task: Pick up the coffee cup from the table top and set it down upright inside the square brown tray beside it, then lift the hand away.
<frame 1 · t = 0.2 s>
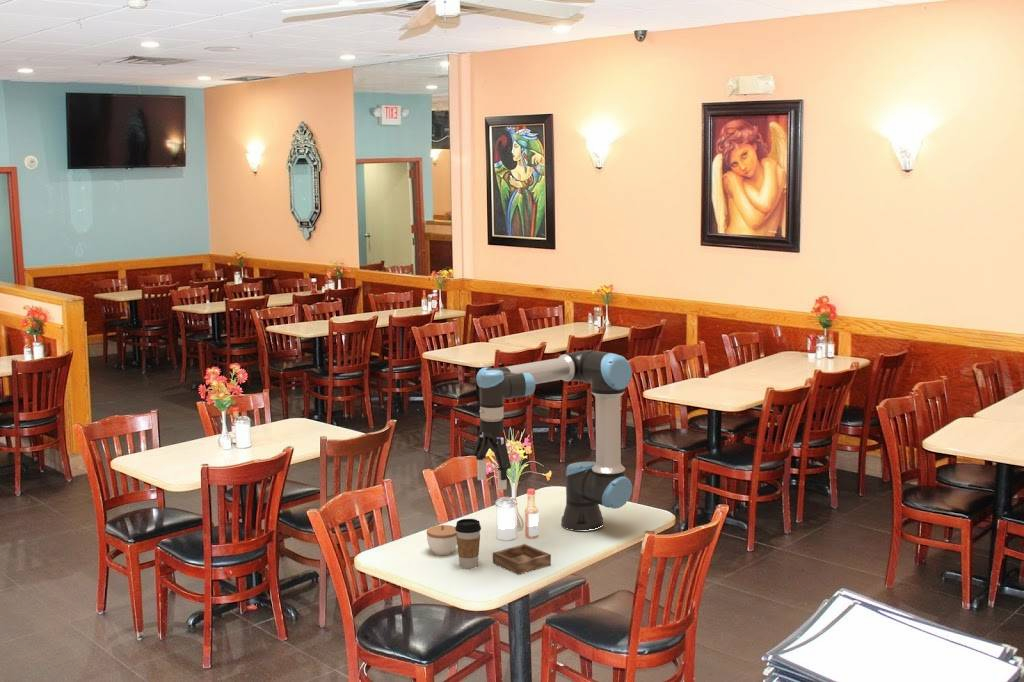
hand: (491, 484, 335), 27 cm above the table, tool pointing down, fingers open, 13 cm apart
coffee cup: (468, 566, 340), on the table
square brown tray: (521, 564, 341), on the table
lidded jar: (443, 552, 353), on the table
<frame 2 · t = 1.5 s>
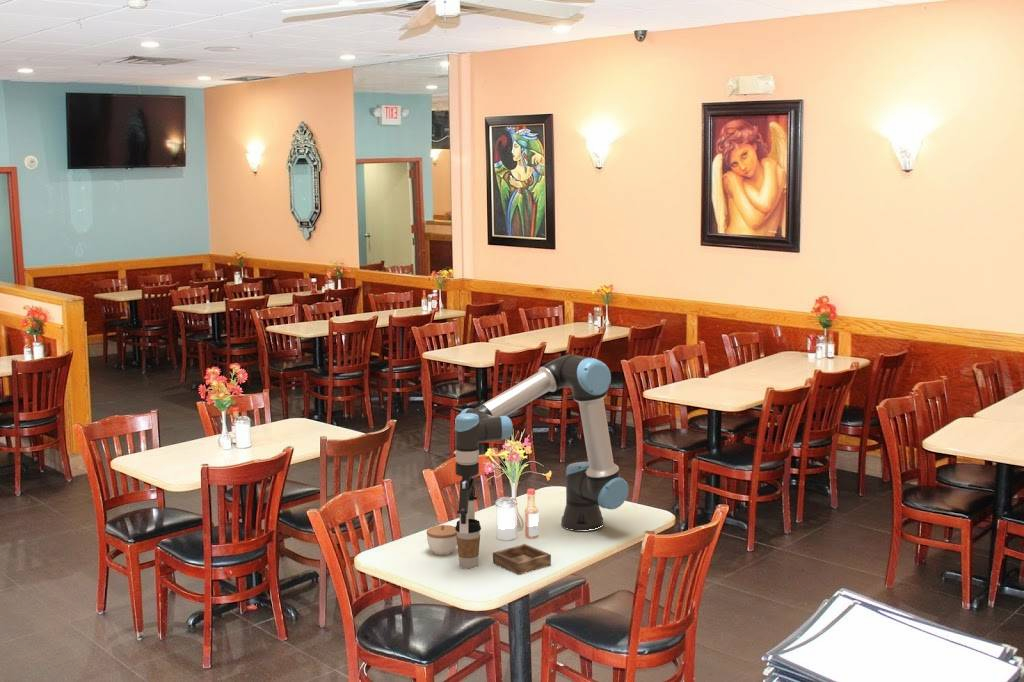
hand: (467, 526, 338), 13 cm above the table, tool pointing down, fingers open, 13 cm apart
nothing on the table moved.
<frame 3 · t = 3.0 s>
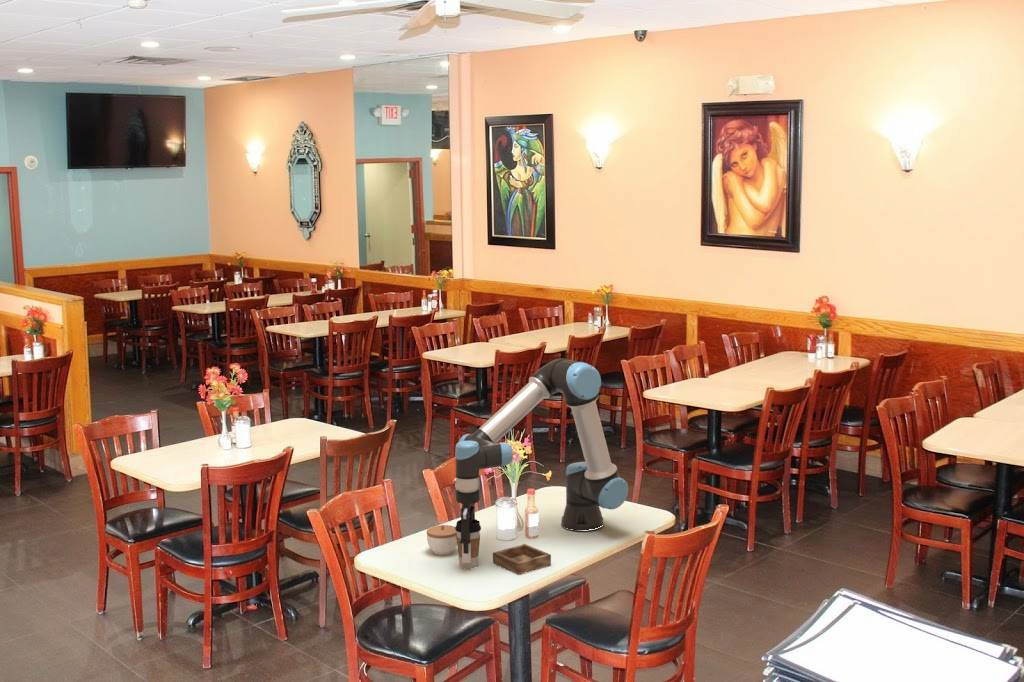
hand: (468, 557, 340), 3 cm above the table, tool pointing down, fingers closed on coffee cup, 8 cm apart
coffee cup: (468, 566, 340), on the table, touching gripper
everything else where it was.
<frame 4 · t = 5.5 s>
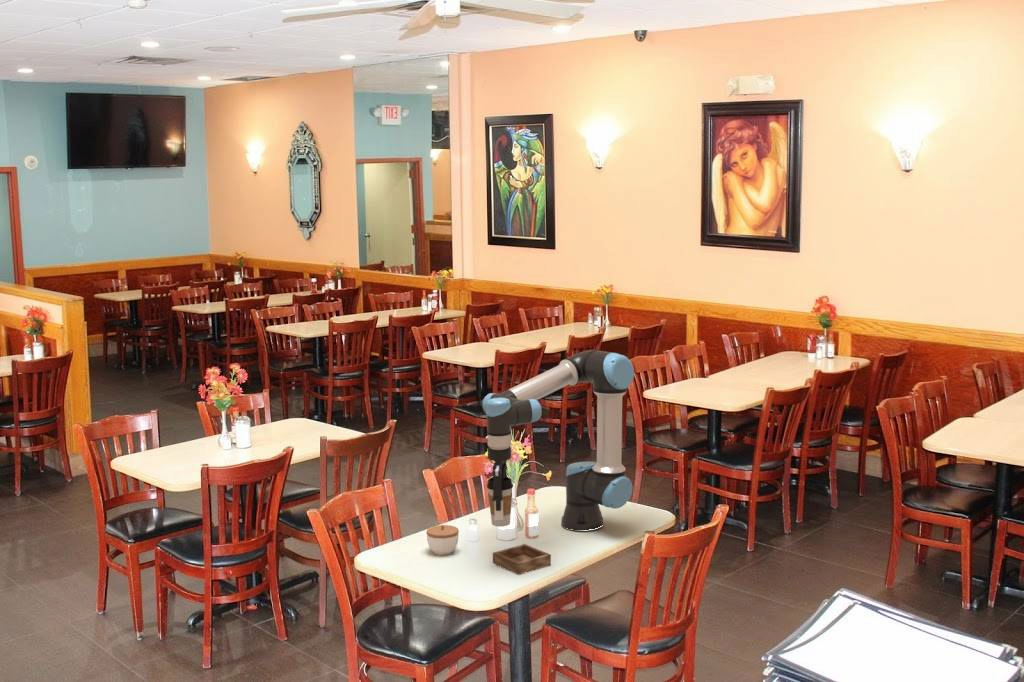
hand: (500, 515, 339), 16 cm above the table, tool pointing down, fingers closed on coffee cup, 8 cm apart
coffee cup: (500, 524, 339), point 14 cm above the table, touching gripper
everything else where it was.
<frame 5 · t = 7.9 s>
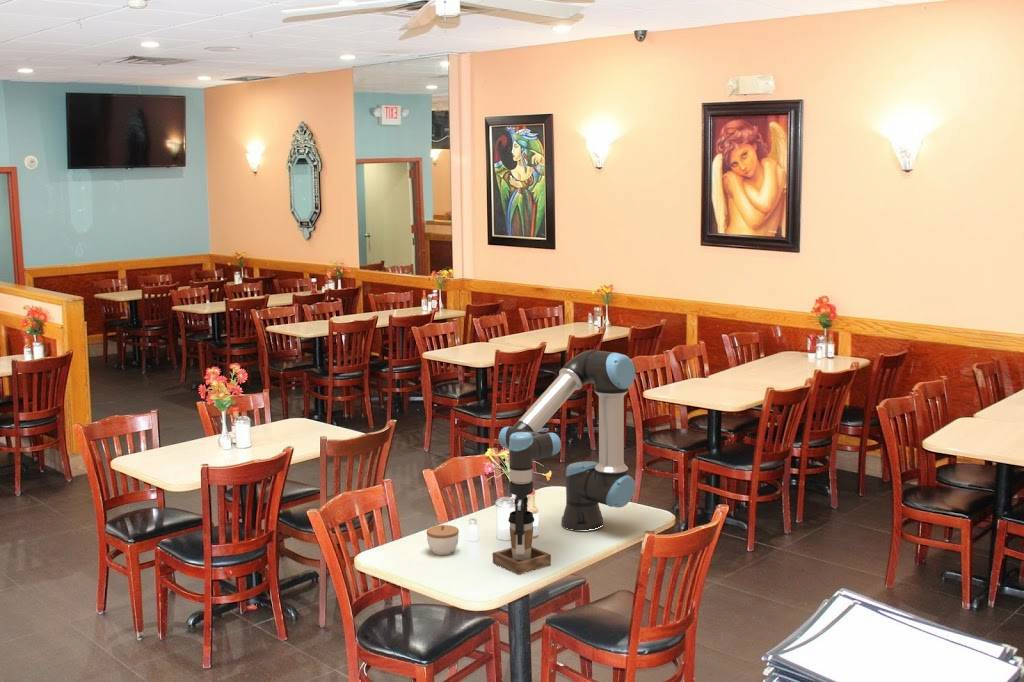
hand: (521, 549, 340), 5 cm above the table, tool pointing down, fingers closed on coffee cup, 8 cm apart
coffee cup: (521, 557, 341), point 2 cm above the table, touching gripper
everything else where it was.
when the fingers open (5 cm above the table, at t = 8.4 s): coffee cup drops 1 cm, resting on square brown tray.
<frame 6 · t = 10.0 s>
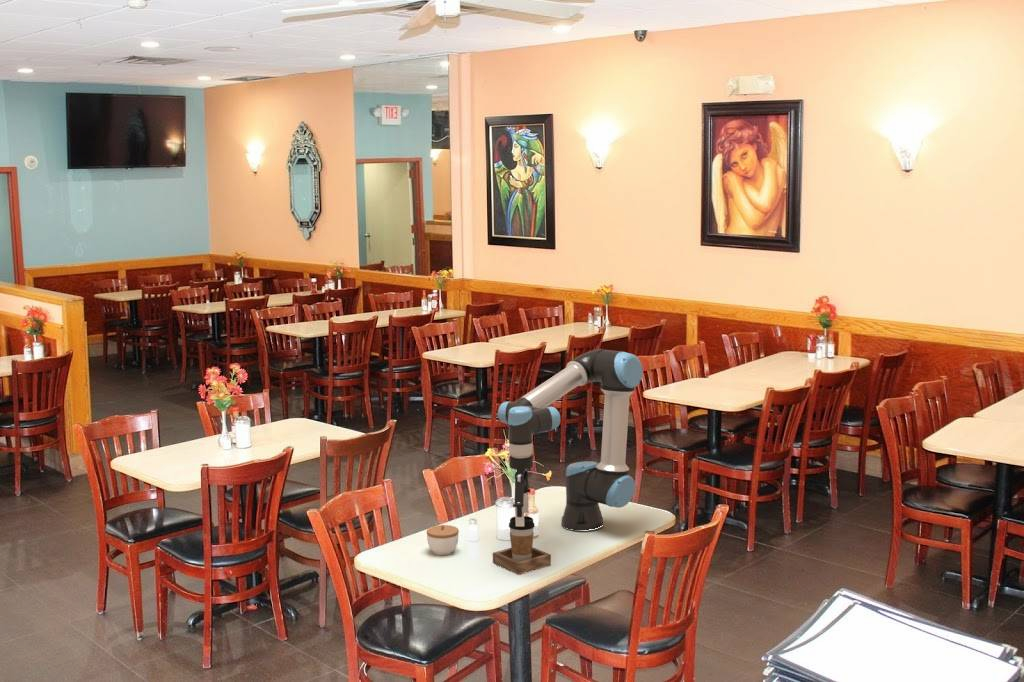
hand: (522, 519, 339), 15 cm above the table, tool pointing down, fingers open, 13 cm apart
coffee cup: (521, 563, 341), resting on square brown tray
everything else where it was.
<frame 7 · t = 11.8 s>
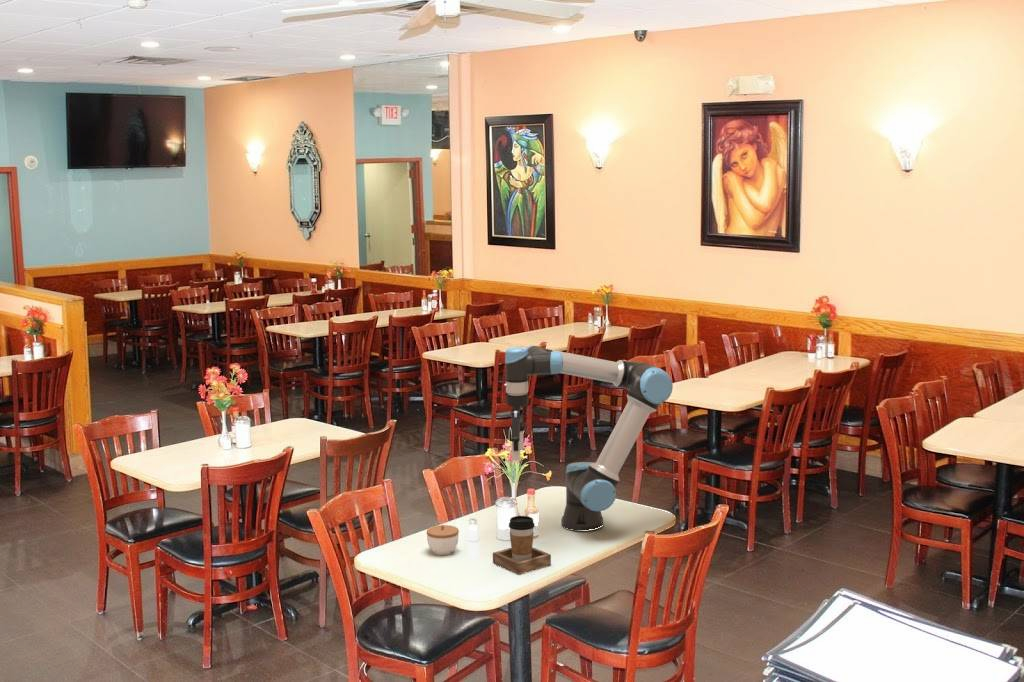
hand: (518, 454, 356), 31 cm above the table, tool pointing down, fingers open, 13 cm apart
nothing on the table moved.
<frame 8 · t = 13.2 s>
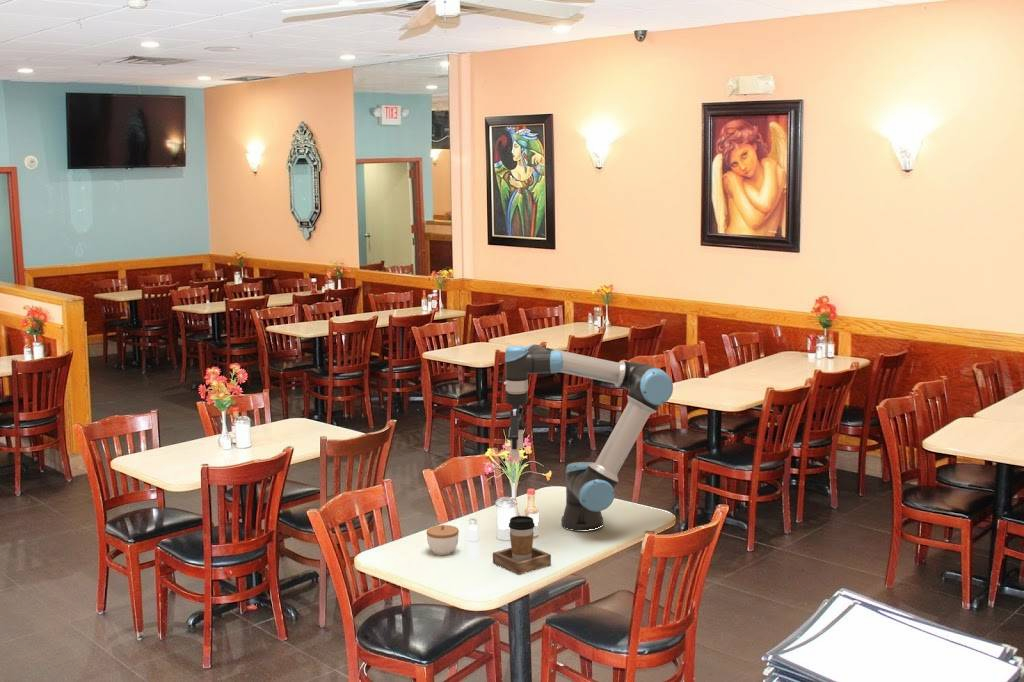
hand: (517, 453, 357), 32 cm above the table, tool pointing down, fingers open, 13 cm apart
nothing on the table moved.
at the end: coffee cup 0.2 cm off-centre on the square brown tray, point 0.4 cm above the square brown tray's base; coffee cup tilted 0°; the gripper is holding nothing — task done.
